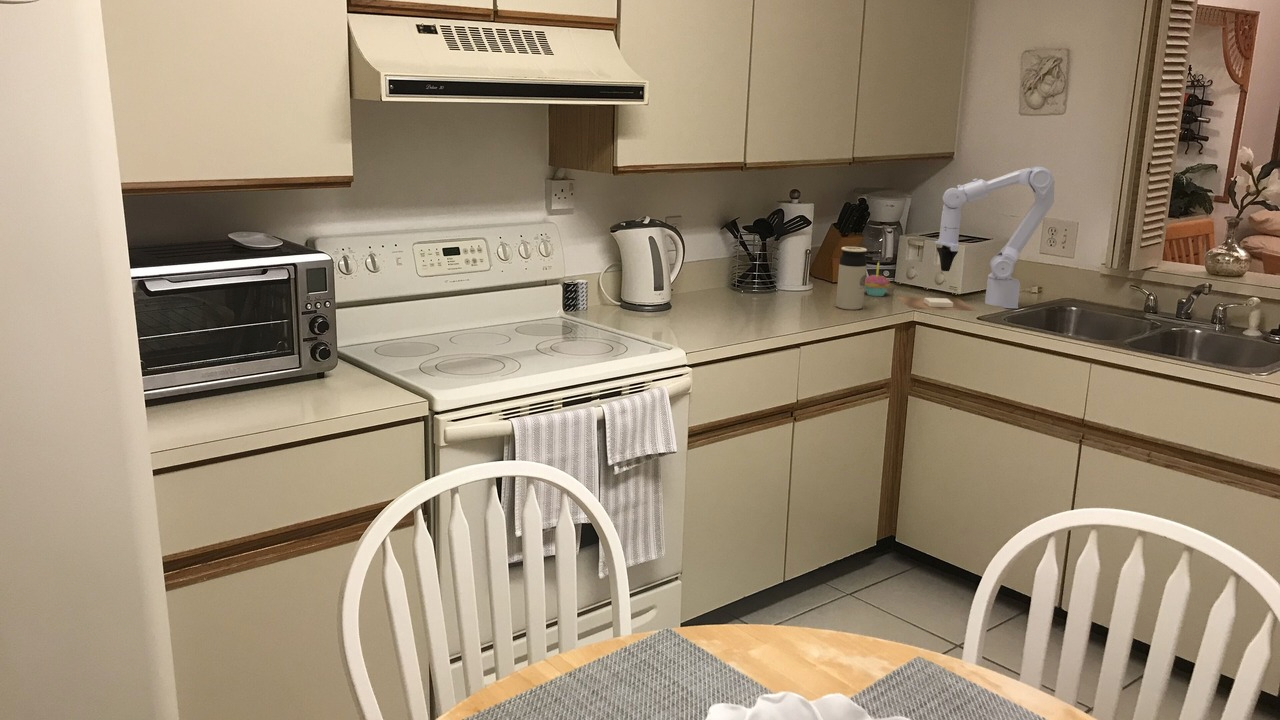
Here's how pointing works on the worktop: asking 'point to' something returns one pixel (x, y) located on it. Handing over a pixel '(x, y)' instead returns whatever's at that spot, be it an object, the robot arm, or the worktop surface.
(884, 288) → the cupcake
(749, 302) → the worktop surface
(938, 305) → the tile
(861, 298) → the travel mug
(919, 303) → the board
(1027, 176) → the robot arm
